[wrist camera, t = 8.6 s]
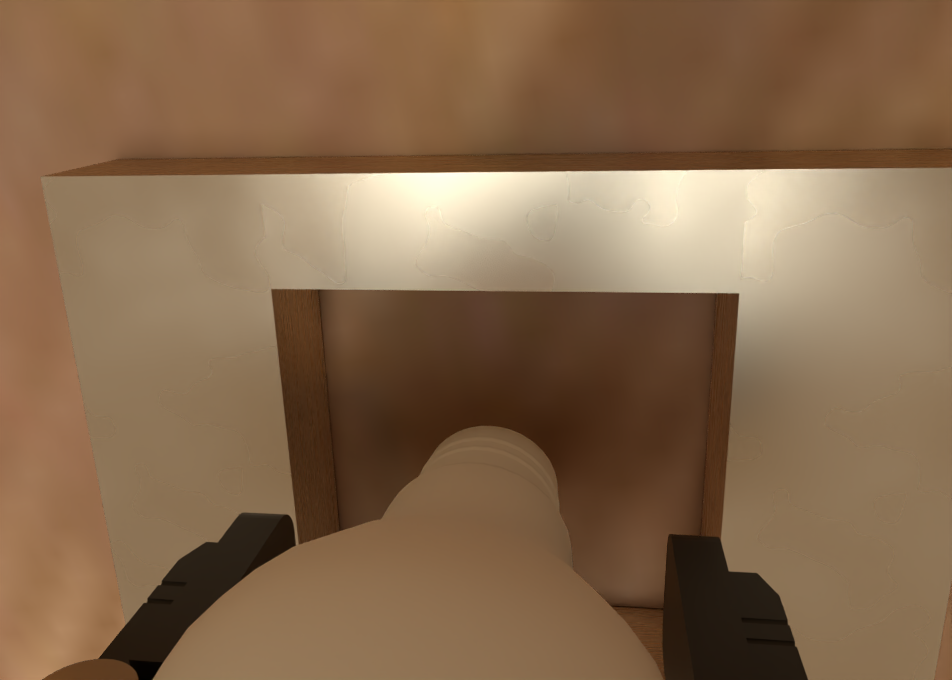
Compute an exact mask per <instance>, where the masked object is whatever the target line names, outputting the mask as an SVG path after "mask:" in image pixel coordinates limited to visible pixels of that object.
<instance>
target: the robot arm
mask: <svg viewBox="0 0 952 680" xmlns="http://www.w3.org/2000/svg"><path fill="white" fill-rule="evenodd" d="M294 546H296V540H295V531H294V524H293V521H292V518H291V517H290V516H289V515H287V514H268V513H248V512H243V513H241V514H239V515H238V517H237V518H236V519H235V520H234V522H233V523H232V524H231V526H230V527H229V528H228V530H227V531H226V532H225V534H224V535H223V536H222V538H221V539H220V540H219V542H205V543H204V544H202V545H201V546H199V547H197V548H196V549H194V550H193V551H191V552H190V553H188V554H187V555H185V556H184V557H182V558H180V559H179V560H178V561H177V562H176V564H175V565H174V566H173V567H172V569H171V570H170V571H169V572H168V573H167V575H166V576H165V577H164V578H163V580H162V583H161V585H158V586H157V587H156V588H155V590H154V591H153V592H152V593H151V594H150V596H149V597H148V598H147V603H143V604H142V606H141V607H140V608H139V609H138V610H137V612H136V613H135V614H134V615H133V617H132V618H131V619H130V620H129V622H128V623H127V624H126V625H125V627H124V628H123V629H122V630H121V631H120V633H119V634H118V635H117V636H116V638H115V639H114V640H113V641H112V643H111V644H110V645H109V646H108V647H107V649H106V650H105V651H104V652H103V654H102V655H101V656H100V657H99V659H94V660H87V661H83V662H79V663H75V664H72V665H69V666H66V667H64V668H62V669H60V670H57V671H55V672H54V673H52V674H50V675H48V676H47V677H45V678H44V679H42V680H153V678H154V676H155V675H156V673H157V672H158V670H159V668H160V667H161V665H162V664H163V662H164V661H165V659H166V658H167V657H168V655H169V654H170V652H171V651H172V649H173V648H174V647H175V645H176V644H177V642H178V641H179V640H180V638H181V637H182V635H183V634H184V633H185V631H186V630H187V628H188V627H189V626H191V625H192V624H193V623H194V622H195V621H196V620H197V619H198V618H199V617H200V616H201V615H202V614H203V613H204V612H205V611H206V610H207V609H208V608H209V607H210V606H211V605H213V604H214V603H215V602H216V601H217V600H218V599H219V598H220V597H221V596H222V595H223V594H225V593H226V592H227V591H228V590H230V589H231V588H232V587H234V586H235V585H236V584H237V583H239V582H240V581H241V580H242V579H244V578H245V577H246V576H247V575H249V574H250V573H251V572H252V571H254V570H255V569H257V568H258V567H260V566H262V565H263V564H265V563H267V562H268V561H270V560H272V559H273V558H275V557H277V556H279V555H280V554H282V553H284V552H285V551H287V550H289V549H290V548H292V547H294ZM662 643H663V664H664V674H665V680H808V678H807V675H806V672H805V669H804V666H803V663H802V660H801V657H800V654H799V651H798V649H797V647H795V640H794V637H793V634H792V631H791V628H790V625H788V619H787V616H786V614H785V611H784V608H783V605H782V602H781V599H780V596H779V595H778V594H777V593H776V592H775V591H774V590H773V589H772V588H771V587H770V586H769V584H768V583H767V582H766V581H765V580H764V579H763V578H762V577H761V576H760V575H759V574H758V573H749V572H731V571H729V570H728V566H727V562H726V559H725V555H724V551H723V547H722V543H721V540H720V538H719V537H713V536H693V535H673V534H670V535H669V537H668V544H667V558H666V575H665V592H664V609H663V630H662Z"/></svg>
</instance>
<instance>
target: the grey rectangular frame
mask: <svg viewBox="0 0 952 680" xmlns="http://www.w3.org/2000/svg"><path fill="white" fill-rule="evenodd" d="M41 182H42V187H43V192H44V198H45V203H46V208H47V213H48V219H49V224H50V229H51V234H52V240H53V245H54V250H55V256H56V261H57V266H58V271H59V277H60V282H61V287H62V292H63V298H64V303H65V308H66V313H67V319H68V324H69V329H70V335H71V340H72V345H73V350H74V356H75V361H76V366H77V371H78V377H79V382H80V387H81V393H82V398H83V403H84V408H85V414H86V419H87V424H88V429H89V435H90V440H91V445H92V451H93V456H94V461H95V466H96V472H97V477H98V482H99V487H100V493H101V498H102V503H103V509H104V514H105V519H106V524H107V530H108V535H109V540H110V545H111V551H112V556H113V561H114V567H115V572H116V577H117V582H118V588H119V593H120V598H121V603H122V609H123V614H124V619H125V625H126V624H127V623H128V622H129V620H130V619H131V618H132V617H133V615H134V614H135V613H136V612H137V610H138V609H139V608H140V607H141V606H142V604H143V603H147V598H148V597H149V596H150V594H151V593H152V592H153V591H154V590H155V588H156V587H157V586H158V585H161V583H162V580H163V578H164V577H165V576H166V575H167V573H168V572H169V571H170V570H171V569H172V567H173V566H174V565H175V564H176V562H177V561H178V560H179V559H180V558H182V557H184V556H185V555H187V554H188V553H190V552H191V551H193V550H194V549H196V548H197V547H199V546H201V545H202V544H204V543H205V542H219V540H220V539H221V538H222V536H223V535H224V534H225V532H226V531H227V530H228V528H229V527H230V526H231V524H232V523H233V522H234V520H235V519H236V518H237V517H238V515H239V514H241V513H243V512H248V513H268V514H287V515H289V516H290V517H291V518H292V521H293V524H294V531H295V540H296V546H297V545H300V544H303V543H306V542H309V541H312V540H315V539H318V538H321V537H324V536H327V535H330V534H333V533H336V532H339V531H340V527H339V516H338V504H337V493H336V482H335V471H334V460H333V449H332V438H331V427H330V415H329V404H328V393H327V382H326V371H325V360H324V349H323V337H322V326H321V315H320V304H319V293H318V289H332V290H439V291H546V292H653V293H717V294H716V309H715V324H714V340H713V355H712V370H711V386H710V401H709V416H708V431H707V447H706V462H705V477H704V492H703V508H702V523H701V536H713V537H719V538H720V540H721V543H722V547H723V551H724V555H725V559H726V562H727V566H728V570H729V571H731V572H749V573H758V574H759V575H760V576H761V577H762V578H763V579H764V580H765V581H766V582H767V583H768V584H769V586H770V587H771V588H772V589H773V590H774V591H775V592H776V593H777V594H778V595H779V596H780V599H781V602H782V605H783V608H784V611H785V614H786V616H787V619H788V625H790V628H791V631H792V634H793V637H794V640H795V647H797V649H798V651H799V654H800V657H801V660H802V663H803V666H804V669H805V672H806V675H807V678H808V680H934V678H935V672H936V667H937V661H938V655H939V650H940V644H941V638H942V633H943V627H944V621H945V616H946V610H947V605H948V599H949V593H950V588H951V582H952V149H904V150H825V151H746V152H667V153H588V154H508V155H429V156H350V157H271V158H192V159H116V160H112V161H107V162H103V163H98V164H94V165H90V166H85V167H81V168H76V169H72V170H68V171H63V172H59V173H54V174H50V175H45V176H41ZM612 608H613V609H614V610H615V611H616V612H617V613H618V614H619V615H620V616H621V617H622V618H623V619H624V620H625V622H626V623H627V624H628V625H629V626H630V628H631V629H632V631H633V632H634V633H635V635H636V636H637V637H638V639H639V640H640V641H641V643H642V644H643V646H644V647H645V648H646V650H647V651H648V652H649V654H650V655H651V656H652V658H653V659H654V661H655V662H656V664H657V666H658V668H659V671H660V673H661V675H662V677H663V680H665V674H664V664H663V643H662V630H663V610H659V609H642V608H625V607H612Z"/></svg>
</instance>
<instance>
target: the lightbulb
mask: <svg viewBox="0 0 952 680" xmlns="http://www.w3.org/2000/svg"><path fill="white" fill-rule="evenodd" d="M559 512H560V504H559V498H558V483H557V479H556V474H555V471H554V469H553V466H552V464H551V462H550V460H549V459H548V457H547V456H546V455H545V453H544V452H543V450H542V449H540V448H539V447H538V446H537V445H536V444H535V443H534V442H533V441H532V440H530V439H528V438H527V437H525V436H524V435H522V434H520V433H518V432H515V431H513V430H510V429H507V428H502V427H498V426H477V427H470V428H467V429H464V430H461V431H458V432H456V433H455V434H453V435H451V436H450V437H448V438H446V439H445V440H444V441H443V442H442V443H441V444H440V445H439V446H438V447H437V448H436V450H435V451H434V452H433V454H432V455H431V457H430V458H429V460H428V461H427V463H426V464H425V465H424V467H423V469H422V471H421V473H420V475H419V476H418V477H417V478H415V479H414V480H412V481H411V482H410V483H409V484H407V485H406V486H405V487H404V488H403V489H402V490H401V491H400V492H399V493H398V494H397V495H396V497H395V498H394V500H393V501H392V503H391V504H390V505H389V507H388V508H387V510H386V512H385V513H384V515H383V517H382V518H381V520H374V521H370V522H367V523H364V524H361V525H358V526H355V527H351V528H348V529H345V530H342V531H339V532H336V533H333V534H330V535H327V536H324V537H321V538H318V539H315V540H312V541H309V542H306V543H303V544H300V545H297V546H294V547H292V548H290V549H289V550H287V551H285V552H284V553H282V554H280V555H279V556H277V557H275V558H273V559H272V560H270V561H268V562H267V563H265V564H263V565H262V566H260V567H258V568H257V569H255V570H254V571H252V572H251V573H250V574H249V575H247V576H246V577H245V578H244V579H242V580H241V581H240V582H239V583H237V584H236V585H235V586H234V587H232V588H231V589H230V590H228V591H227V592H226V593H225V594H223V595H222V596H221V597H220V598H219V599H218V600H217V601H216V602H215V603H214V604H213V605H211V606H210V607H209V608H208V609H207V610H206V611H205V612H204V613H203V614H202V615H201V616H200V617H199V618H198V619H197V620H196V621H195V622H194V623H193V624H192V625H191V626H189V627H188V628H187V630H186V631H185V633H184V634H183V635H182V637H181V638H180V640H179V641H178V642H177V644H176V645H175V647H174V648H173V649H172V651H171V652H170V654H169V655H168V657H167V658H166V659H165V661H164V662H163V664H162V665H161V667H160V668H159V670H158V672H157V673H156V675H155V676H154V678H153V680H663V677H662V675H661V673H660V671H659V668H658V666H657V664H656V662H655V661H654V659H653V658H652V656H651V655H650V654H649V652H648V651H647V650H646V648H645V647H644V646H643V644H642V643H641V641H640V640H639V639H638V637H637V636H636V635H635V633H634V632H633V631H632V629H631V628H630V626H629V625H628V624H627V623H626V622H625V620H624V619H623V618H622V617H621V616H620V615H619V614H618V613H617V612H616V611H615V610H614V609H613V608H612V607H611V606H610V605H609V604H608V603H607V602H606V601H605V600H604V599H603V598H602V597H601V596H600V594H599V593H598V592H597V591H596V590H594V589H593V588H592V587H591V586H590V585H589V584H588V583H587V582H586V581H585V580H584V579H582V578H581V577H580V576H579V575H578V574H577V573H576V572H575V571H574V570H573V560H572V546H571V542H570V537H569V533H568V530H567V527H566V525H565V523H564V521H563V519H562V517H561V514H560V513H559Z"/></svg>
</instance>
